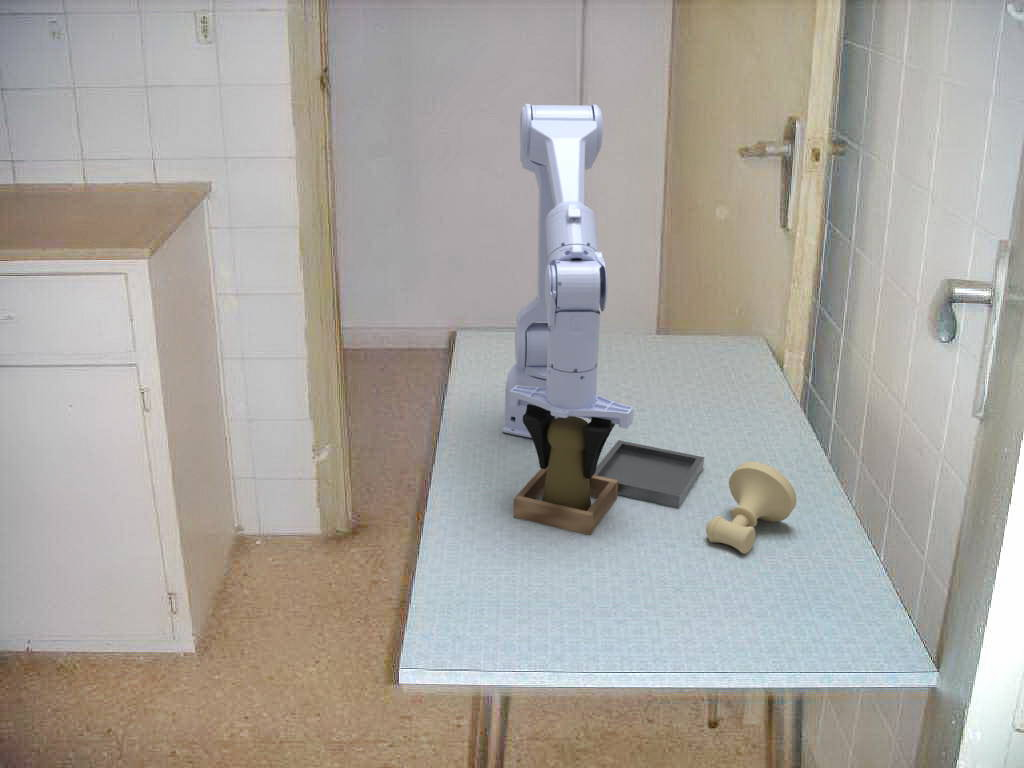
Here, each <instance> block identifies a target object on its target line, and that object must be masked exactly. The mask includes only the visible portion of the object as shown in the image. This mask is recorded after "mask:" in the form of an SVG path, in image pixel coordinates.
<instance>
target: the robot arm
mask: <svg viewBox="0 0 1024 768" xmlns="http://www.w3.org/2000/svg"><path fill="white" fill-rule="evenodd" d="M519 115H520V118H519V147H520V148H519V149H520V150H519V151H520V152H519V158H520V162H521V168H523V169H525V170H527V171H529V172H531V173H534V175H535V178H536V181H537V182H536V183H537V186H538V219H537V220H538V221H537V222H538V223H537V224H538V226H537V228H538V229H537V238H538V239H537V241H538V242H537V287H536V288H537V289H536V290H537V293H536V294H537V296H536V297H535V298H534V299H533V300H531V301H529V302H528V303H527V304H525V305H524V306H523V307H521V308H520V309H519V311H518V314H517V315H516V325H515V330H514V331H515V332H514V333H515V334H514V356H515V364H513V365H512V366H511V368H510V370H509V372H508V375H507V379H506V382H505V390H504V393H505V394H504V395H505V396H504V426H503V428H502V433H506V434H510V435H515V436H521V437H525V438H529V439H532V442H533V444H534V447H535V451H536V454H537V457H538V462H539V469H546V468H547V467H548V463H549V457H550V452H551V445H550V443H549V442H548V438H547V430H548V427H549V424H550V423H551V422H552V421H553V420H554V419H556V418H558V417H561V418H567V417H568V416H575V417H579V418H582V419H583V418H584V419H587V420H588V419H589V420H590V422H588V424H587V426H586V427H585V428H584V429H583V433H584V439H585V466H584V478H587V479H591V477H592V476H593V475H594V474H595V472H596V467H597V466H598V463H599V459H600V456H601V454H602V451H603V448H604V446H605V443H606V442H607V440H608V438H609V436H610V434H611V433H612V430H613V429H614V428H615V425H617V426H618V427H619V428H621V429H625V430H626V429H629V427H630V426H631V425H632V424H633V421H634V407H633V406H630V405H626V404H621V403H620V402H617V401H614V400H611V399H608V398H606V397H602V396H601V395H597V384H598V383H597V382H598V381H597V380H598V366H599V365H598V364H599V345H600V325H601V312H603V313H604V312H605V309H606V304H607V300H608V289H609V288H608V287H609V285H608V283H609V281H608V273H607V267H606V263H605V260H604V256H603V252H601V251H599V242H598V232H597V230H598V229H597V221H596V215H595V213H594V211H593V210H592V209H591V208H590V207H588V206H586V205H585V171H587V170H589V169H592V167H593V166H594V163H595V162H596V160H597V157H598V155H599V153H600V152H601V149H602V144H603V130H604V129H603V127H604V125H603V113H602V109H601V108H600V107H599V106H598V104H591V105H577V104H576V105H569V104H568V105H567V104H566V105H563V104H562V105H557V104H556V105H555V104H554V105H553V104H530V103H525V104H524V106H523V107H522V108H520V114H519ZM599 309H600V310H599ZM600 311H601V312H600Z"/></svg>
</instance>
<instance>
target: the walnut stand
mask: <svg viewBox="0 0 1024 768" xmlns="http://www.w3.org/2000/svg"><path fill="white" fill-rule="evenodd" d="M547 469H548V467H547V468H546V469H541V468H539V470H538V471H537V472H536V473H535V474H534V476H532V478H531V479H530V480H529V481H528V482H527V483H526V484H525V486H523V487H522V488H521V490H520V491H519V492H518V493H517V494H516V495H515V496H514V497H513V511H512V512H513V515H512V516H513V517H514V518H516V519H521V520H524V521H530V522H533V523H539V524H542V525H546V526H550V527H555V528H559V529H563V530H567V531H572V532H576V533H580V534H583V535H589V536H591V535H592V533H593V532H594V530H595V529H596V528H597V526H599V524H600V522H601V521H602V519H603V518H604V517H605V516H606V514H607V513H608V512H609V510H610V508H611V507H612V506H613V505H614V504H615V502H616V501H617V500H618V495H617V491H618V480H615V479H610V478H605V477H601V476H596V475H593V476H592V477H591V479H589V484H590V496H591V497H594V498H596V499H595V500H594V501H593V503H591V507H590V508H589V509H588V511H584V510H579V509H575V508H570V507H566V506H562V505H557V504H553V503H548V502H544V501H542V500H539V499H538V498H539V497H540V496H541V495H542V494H543V491H544V485H545V480H546V474H547Z"/></svg>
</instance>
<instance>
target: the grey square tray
mask: <svg viewBox="0 0 1024 768" xmlns="http://www.w3.org/2000/svg"><path fill="white" fill-rule="evenodd" d="M598 463H599V464H597V467H596V472H595V474H594V475H596V476H601V477H605V478H610V479H615V480H618V491H617V496H622V497H627V498H631V499H635V500H640V501H644V502H649V503H653V504H659V505H663V506H667V507H672V508H676V509H679V508H680V507H681V505H682V504H683V502H684V501H685V499H686V497H687V496H688V494H689V492H690V491H691V489H692V488H693V486H694V484H695V483H696V481H697V479H698V477H699V476H700V475H701V472H702V471H703V469H704V466H705V465H704V464H705V457H704V456H699V455H695V454H689V453H684V452H681V451H676V450H675V451H674V450H669V449H664V448H660V447H654V446H650V445H644V444H639V443H634V442H630V441H624V440H619V439H618V440H617V442H615V444H614V445H613V446H612V447H611V449H610V450H609V451H608V452H607V454H606V455H605V456H604V457H603V458H602V460H601V461H600V462H598Z"/></svg>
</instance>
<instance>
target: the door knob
mask: <svg viewBox="0 0 1024 768" xmlns="http://www.w3.org/2000/svg"><path fill="white" fill-rule="evenodd" d="M728 488H729V492H730V494H731V496H732V498H733V499H734V501H735V502H736V503H737V505H736V506H734V507H733V508H732V509H731V512H730V513H731V517H732V519H733V520H732V521H729V520H727V519H725V518H724V517H723V516H722V515H717V516H715V517H713V518H711V519H710V520H709V521H708V522H707V523H706V526H705V532H706V535H707V539H708V540H709V542H710V543H713V544H714V543H721V544H725V545H728V546H731V547H733V549H734V548H735V549H736V550H737V551H739V552H740V553H741V554H742V555H746V554H748V553H749V552H750V551H751V550H752V548H753V546H754V543H755V540H756V535H757V533H756V529H755V527H756V526H757V524H758V519H759V520H762V519H763V521H766V520H767V521H766V522H770V523H776V522H782V521H783V520H787V518H788V517H789V516H790V515H791V514H792V512H793V511H794V509H795V508H796V505H797V500H798V499H797V494H796V491H795V489H794V487H793V485H792V483H791V482H790V481H789V479H788V478H787V477H786V476H785V475H784V474H782V472H780V471H778V469H775V468H774V467H772V466H770V465H768V464H766V463H762V462H757V461H747V462H743V463H741V464H739V465H738V466H737V467H736V468H735V469H734V471H733V472H732V474H731V475H730V476H729V480H728Z"/></svg>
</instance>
